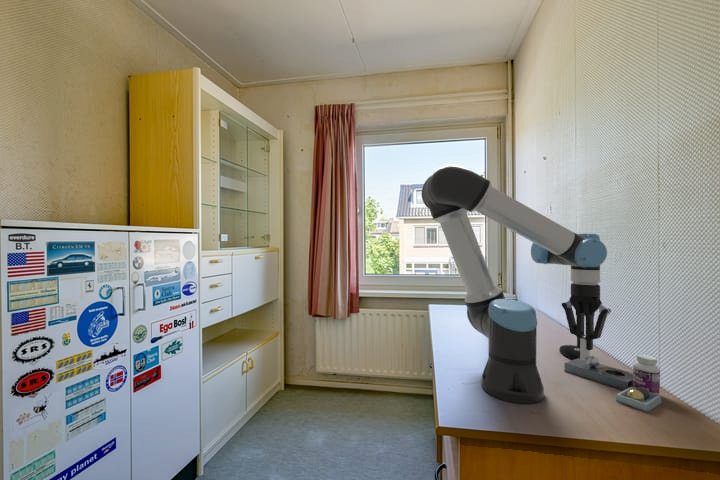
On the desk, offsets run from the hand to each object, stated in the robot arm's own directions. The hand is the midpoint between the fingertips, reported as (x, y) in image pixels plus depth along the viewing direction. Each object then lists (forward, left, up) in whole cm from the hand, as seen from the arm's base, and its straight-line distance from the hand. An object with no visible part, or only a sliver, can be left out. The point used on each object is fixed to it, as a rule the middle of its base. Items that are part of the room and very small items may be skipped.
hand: (584, 359), depth 99 cm
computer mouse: (+12, +9, -5) cm, 16 cm away
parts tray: (-10, -16, -4) cm, 19 cm away
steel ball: (0, -2, 0) cm, 2 cm away
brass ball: (-12, -16, -2) cm, 20 cm away
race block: (0, -4, -4) cm, 6 cm away
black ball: (-8, -16, -2) cm, 18 cm away
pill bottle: (-2, -15, -4) cm, 16 cm away
